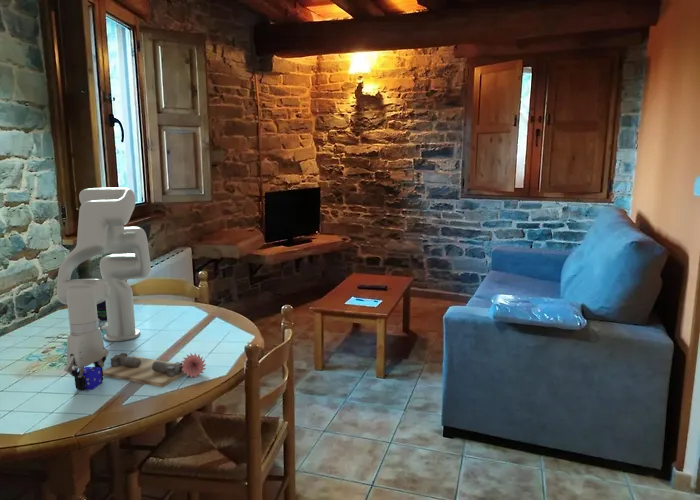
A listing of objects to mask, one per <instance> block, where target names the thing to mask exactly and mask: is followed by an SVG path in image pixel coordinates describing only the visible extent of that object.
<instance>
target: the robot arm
mask: <svg viewBox="0 0 700 500" xmlns="http://www.w3.org/2000/svg"><path fill="white" fill-rule="evenodd" d="M78 197H79V199H78V200H79V202H80V204H81V205H80V206H79V210H78V225H77V237H76V245H75V247H74V248H73V250H71V251H70V252H69V253H68V254H67V256H65V258H64V259H63V261H62V262H61V264H60V266H59V269H58V271H57V272H58V273H57V283H56V297H57V299H58V301H59V302H60V303H61V304H64V305H67V313H68V314H67V315H68V322H69V323H68V324H69V332H70V333H68V334H67V338H66V339H67V340H66V362H67V363H66V365H65V366H64V368H63V371H64V372H66V373H67V374H69V375H71V376H72V377H74V384H75V385H74V386H75V389H76V390H82V391H84V390H86V389H85V378H84V377H83V376H82V375H83V371H84V368H85V367H89V366H90V365H92V364H93V367H101V374H102V381H103V380H104V376H103V370H104V369H103V368H104V367H105V362H106V360H107V358H108V355H109V353H110V351H109V350H108V349H107V348H105V344H104V340H106V341H109V342H124V341H129V340H132V339H135V338H137V337H139V336H140V335H141V330H140V329H139V328H136V320H135V309H134V294H133V292H134V291H133V288H132V287H131V285H130V284H129V283H128V282H127V281H126V280H141V279H146V278H148V277H150V274H151V270H152V265H151V258H150V257H151V256H150V250H149V243H148V237H147V233H146V231H145V229H143V228H142V227H139V226H125V225H127V224H128V223H129V222H130V219H131V217H132V215H133V212H134V210H135V208H136V201H137V200H136V195H135V192H134V191H133V190H132V189H131V188H128V187H92V188H91V187H90V188H84V189H82V190H81V191H80V192H79V195H78ZM102 253H106V254H108V255H105V256H103V257H102V258H101V259H100V261H99V271H100V275H101V277H102V278H79V279H78V278H76V279H73V278H72V274H73V272H74V270H75V269H76V268H77V267H78V266H79V265H81V264H82V263H84V262H86V261H87V260H89V259H92V258H93V257H97V256H98V255H100V254H102ZM105 300H106V311H107V321H106V322H104V324H103V325H102V326H101V328H100V327H99V322H101V321H100V320H99V318H98V316H97V306H96V305H97V304H99V303H102V302H104V301H105ZM102 330H105V331H106V332H105V334H104V335H103V333H102Z"/></svg>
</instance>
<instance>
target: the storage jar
mask: <svg viewBox="0 0 700 500" xmlns="http://www.w3.org/2000/svg"><path fill="white" fill-rule="evenodd" d="M96 306H97V316H98V318H99V320H100V321H99V322H107V311H106V300H105V301H104V302H102V303H99V304H97V305H96Z"/></svg>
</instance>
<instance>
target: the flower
mask: <svg viewBox="0 0 700 500" xmlns="http://www.w3.org/2000/svg"><path fill="white" fill-rule="evenodd" d="M189 354H190V355H188V354H186V357H183V359H184V360H181V363H182V365H181V366H183V367H182V370H184V375H185V374H186V377H187V378H188V377H191V378H197V376H201V375H202V374H203V373H204V370H207V368H206V367H205V366H207V364H206V363H205V362H206V360H205V359H204V360H203V356H200V355H201V354H196V353H194V354H193V353H191V352H190V353H189Z"/></svg>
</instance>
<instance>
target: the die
mask: <svg viewBox="0 0 700 500" xmlns="http://www.w3.org/2000/svg"><path fill="white" fill-rule="evenodd" d="M82 376H83V377H84V378H85V389H84V390H90V391H91V390H92V391H93V390H95V389H96V388H97V387H99V386H100V385H102V383H103V380H102V374H101V367H95V366H85V367H84V371H83V375H82Z"/></svg>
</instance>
